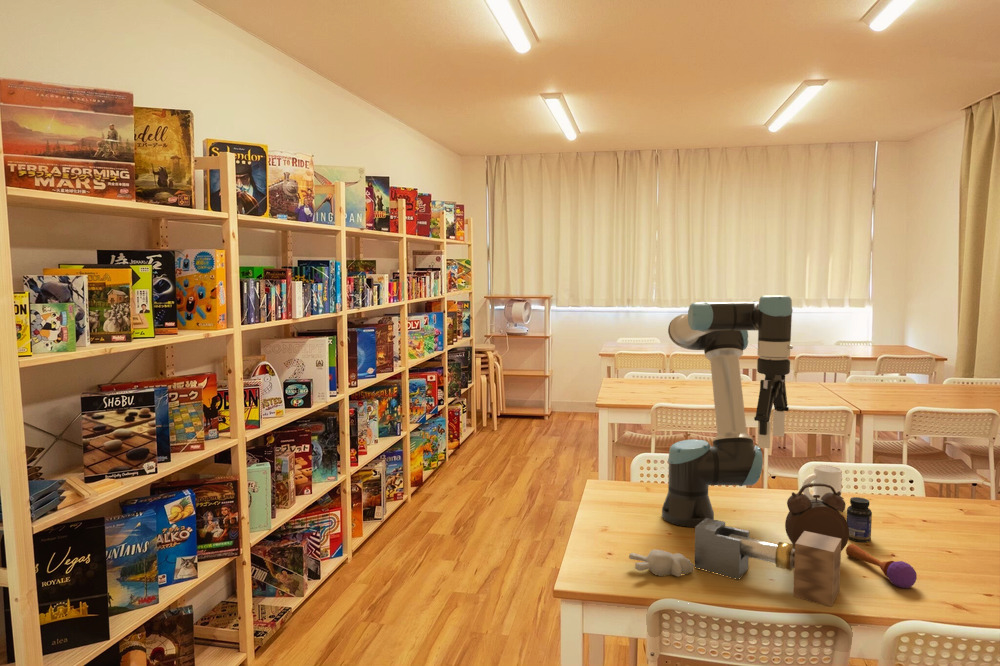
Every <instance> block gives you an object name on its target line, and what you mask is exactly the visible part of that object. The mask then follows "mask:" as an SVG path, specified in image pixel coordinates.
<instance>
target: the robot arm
mask: <svg viewBox="0 0 1000 666" xmlns="http://www.w3.org/2000/svg"><path fill="white" fill-rule="evenodd" d="M793 311H794V310H793V302H792V298H791V296H789V295H780V294H779V295H776V294H774V295H772V294H771V295H768V294H767V295H761V296H760V298H759V300H754V301H753V300H752V301H728V302H727V301H722V302H721V301H719V302H718V301H716V302H715V301H700V302H698V301H697V302H692V303H691V304H689V307H688V311H687V313H683V314H679V315H677V316H675V317H674V318H673V319H672V320H670V322H669V324H668V329H667V333H668V336H669V338H670V340H671V341H672V343H673V344H675V345H676V346H678V347H680V348H683V349H686V350H690V351H691V350H692V351H704V357H705V358H706V359H707V360H708V361H709V362H710V371H711V373H710V374H711V381H712V382H711V383H712V391H713V392H712V393H713V394H712V395H713V403H714V415H715V425H716V434H717V435H716V436H715V437H714V439H713V440H712V445H710V443H709V442H708V441H707V440H704V439H693V438H692V439H683V440H680V441H676V442H675V443H673V444H672V445H671V446H670V447H669V449H668V450H669V452H668V459H667V462H668V480H667V481H668V482H667V483H668V484H667V485H668V486H667V488H668V489H667V494H666V496H665V500H664V503H663V505H662V509H661V517H662V519H663V518H664V519H665V520H664V519H663V520H664V521H666V522H667V521H668V523H669V522H670V523H669V524H672V523H673V525H675V524H676V525H675V526H678V527H685V526H686V528H695V527H696V526H697V525H698V524H699V523H700V522H702V521H703V520H704V519H705V518H709V519H714V520H715V513H714V509H713V507H712V503H711V499H710V496H709V486H739V487H743V486H754V485H757V483H758V482H759V480H760V478H761V475H762V472H763V471H762V470H763V463H764V462H763V459H764V458H763V453H762V450H761V448H762V449H767V450H768V449H770V448H771V427H772V436H774V437H781V438H784V437H785V426H786V425H785V424H786V423H785V421H786V418H785V417H786V412H789V408H790V407H789V405H788V398H787V390H786V389H787V387H786V376H787V375H788V374H790V371H791V360H790V359H789V357H790V356H791V350H793V349H794V346H793V345H791V337H792V321H793V319H792V318H793V317H792V316H793ZM749 331H758V333H757V335H758V336H757V354H756V355H757V356H759V357H758V358H757V365H756V368H757V369H756V371H757V372H758V374H761V375H764V379H760V384H759V393H758V400H757V406H756V411H755V416H754V419H753V420H754V421H755V422H757V445H754V438H753V437H751V436H750V434H749V435H748V431H747V423H746V414H745V405H744V396H743V387H742V379H741V377H742V376H741V368H740V360H739V359H740V358H741V357H742V356H743V355H744V351H745V350H747V348H748V344H749ZM773 408H774V410H773V411H772V409H773ZM771 414H772V421H770V420H771V419H770V418H771ZM771 422H772V423H771ZM771 424H772V425H771Z"/></svg>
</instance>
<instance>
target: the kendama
mask: <svg viewBox="0 0 1000 666" xmlns="http://www.w3.org/2000/svg"><path fill="white" fill-rule="evenodd" d="M845 554H846V555H847V556H848V557H849V558H850V557H851V558H853V559H857V560H860V561H862V562H864V563H865V562H866V563H869V564H872V565H874V566H878V567H879V568H880V570H881V571H882V573H883V575H884V576H885V577H886V578H888V580H889V581H890V583H892V585H894V586H896V587H898V588H901V589H908V588H911V587H913V586H914V585H915V583H916V581H917V579H918V578H917V571H916V570H915V568H914V567H913V566H912V565H911V564H909V563H907V562H905V561H902V560H899V561H898V560H897V561H894V560H887V561H880V560H878V559H877V558H875V557H874V556H872V555H871V554H870V553H868V552H866V551H865V550H863V549H862V548H860V547H858V546H857V545H856V544H853V543H849V544H848V545H847V546H846V549H845Z"/></svg>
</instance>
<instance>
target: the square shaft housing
mask: <svg viewBox="0 0 1000 666" xmlns="http://www.w3.org/2000/svg"><path fill="white" fill-rule="evenodd" d="M730 534H734V535H738V536H743V537H747V538H750V531H749V530H746V529H741V528H737V527H733V526H732V527H731V526H728V525H726V522H725V521H723V520H719V519H715V518H714V519H709V518H705V519H704V520H703V521H702V522H700V523H699V524H698V525H697V526H696V527H694V567H696V568H700V569H704V570H707V571H710V572H714V573H718V574H721V575H724V576H728V577H731V578H730V579H732V578H736V579H739V578H740V577H741V576H742V575H743V574H744V573H745V574H746V572H747V571H748V570H749V560H750V559H749V558H750V557H747V556H743V555H741V539H737V538H733V537H729V535H730ZM747 569H748V570H747ZM710 572H709V573H710ZM745 574H744V575H745ZM721 575H720V576H721ZM744 575H743V576H744ZM724 576H723V577H724ZM743 576H742V577H743ZM728 577H727V578H728ZM742 577H741V578H742ZM741 578H740V579H741ZM736 579H735V580H736Z"/></svg>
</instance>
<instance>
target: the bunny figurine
mask: <svg viewBox="0 0 1000 666" xmlns="http://www.w3.org/2000/svg"><path fill="white" fill-rule="evenodd" d="M628 559H630V560H634V561H635V560H636V561H639V562H635V563H634V567H635V569H636V570H637V571H640V572H642V571H645V570H649V571H650V572H651V573H652V574H653V575H654V574H655V575H658V576H659V577H664V576H663V575H668V576H670V575H672V576H674V577H681V576H682V575H681V574H687V573H688V574H690V572H694V569H695V568H694V566H695V564H694V563H692V562H691V560H690V559H689V558H686V556H685V555H683V554H682V553H679V552H677V553H671V552H669V551H665V550H662V549H651V550H650V552H649V553H648V554H647V556H646V555H642V554H638V553H634V552H631V553H629V556H628ZM640 561H641V562H640ZM688 574H687V575H688ZM655 575H654V576H655ZM658 576H657V577H658Z"/></svg>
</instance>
